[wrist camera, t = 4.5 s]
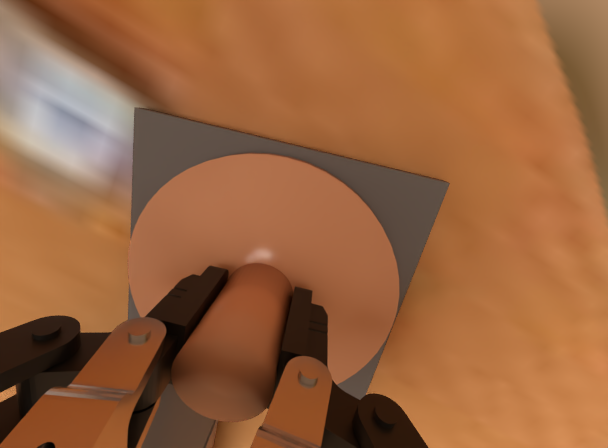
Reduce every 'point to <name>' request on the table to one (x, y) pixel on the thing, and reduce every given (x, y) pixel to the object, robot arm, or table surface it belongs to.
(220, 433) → the table surface
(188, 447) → the bowl
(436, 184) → the mat
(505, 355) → the table surface
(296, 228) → the lid
